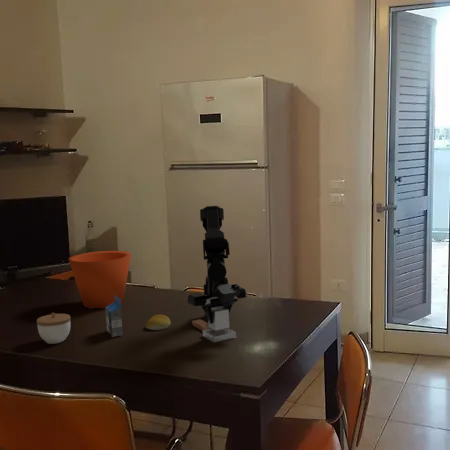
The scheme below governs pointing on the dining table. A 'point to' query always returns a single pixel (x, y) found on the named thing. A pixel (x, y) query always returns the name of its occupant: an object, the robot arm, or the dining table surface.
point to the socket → (219, 318)
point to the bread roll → (158, 322)
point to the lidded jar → (54, 327)
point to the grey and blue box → (114, 318)
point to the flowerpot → (101, 276)
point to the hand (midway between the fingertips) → (218, 321)
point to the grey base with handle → (214, 332)
